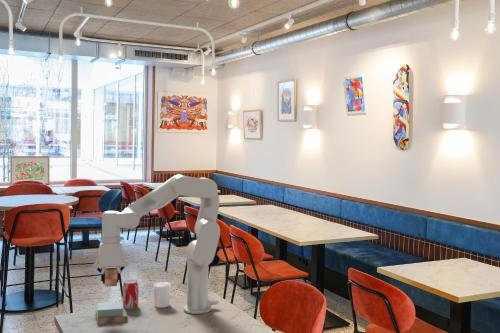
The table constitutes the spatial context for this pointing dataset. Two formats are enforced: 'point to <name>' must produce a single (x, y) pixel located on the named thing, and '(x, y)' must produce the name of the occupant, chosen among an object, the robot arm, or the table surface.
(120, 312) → the top block
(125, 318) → the base block
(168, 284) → the white cup
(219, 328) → the table surface
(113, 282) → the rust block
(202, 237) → the robot arm
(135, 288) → the soda can
